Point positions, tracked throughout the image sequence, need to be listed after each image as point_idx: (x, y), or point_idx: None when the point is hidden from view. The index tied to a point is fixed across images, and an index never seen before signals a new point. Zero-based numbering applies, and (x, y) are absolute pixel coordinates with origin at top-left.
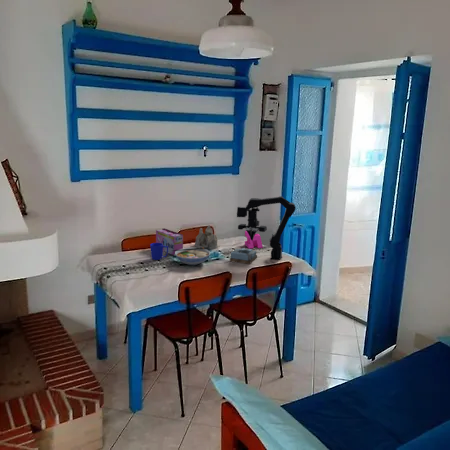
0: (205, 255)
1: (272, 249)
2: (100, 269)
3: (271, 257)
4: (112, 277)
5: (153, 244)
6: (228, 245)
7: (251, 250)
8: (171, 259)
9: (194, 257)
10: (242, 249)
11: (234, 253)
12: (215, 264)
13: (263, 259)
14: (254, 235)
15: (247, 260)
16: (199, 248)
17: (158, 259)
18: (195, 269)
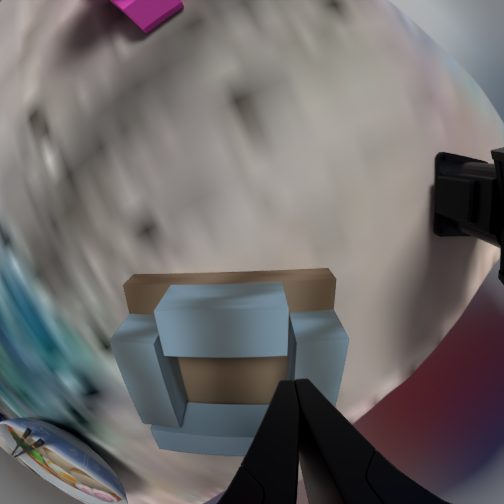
0: (106, 487)
1: (492, 233)
2: (16, 459)
3: (439, 221)
4: (61, 490)
5: None
6: (3, 83)
7: (287, 334)
8: (8, 410)
9: (101, 497)
10: (178, 351)
11: (189, 451)
12: (143, 447)
13: (387, 277)
14: (372, 447)
15: None
16: (31, 449)
17: (1, 418)
18: (130, 480)
